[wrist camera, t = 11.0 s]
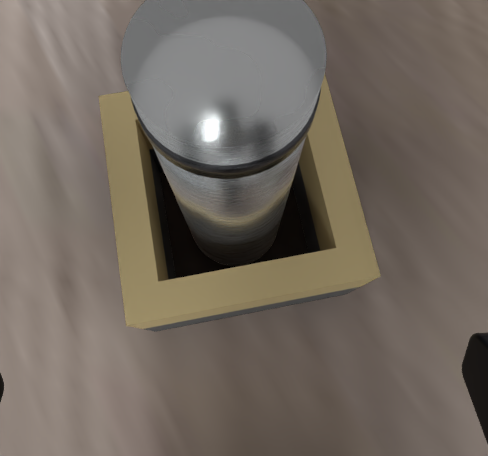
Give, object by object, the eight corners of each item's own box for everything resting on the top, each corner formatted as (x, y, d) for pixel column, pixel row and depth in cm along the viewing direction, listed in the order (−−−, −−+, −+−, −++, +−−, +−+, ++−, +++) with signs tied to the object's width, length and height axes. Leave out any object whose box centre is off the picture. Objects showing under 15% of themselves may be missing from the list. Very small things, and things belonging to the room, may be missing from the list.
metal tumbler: (296, 239, 20) (369, 88, 8) (216, 283, 19) (177, 185, 8) (251, 166, 21) (263, -61, 9) (174, 205, 20) (84, 16, 9)
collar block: (345, 294, 19) (380, 276, 14) (155, 331, 19) (126, 325, 14) (302, 124, 21) (321, 59, 17) (131, 153, 21) (98, 95, 16)
